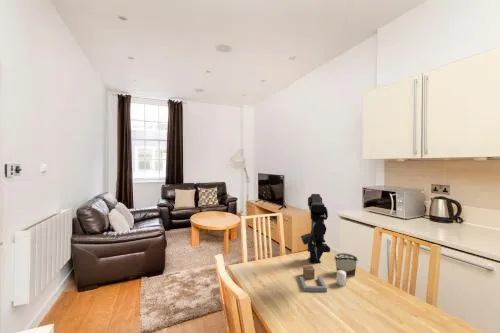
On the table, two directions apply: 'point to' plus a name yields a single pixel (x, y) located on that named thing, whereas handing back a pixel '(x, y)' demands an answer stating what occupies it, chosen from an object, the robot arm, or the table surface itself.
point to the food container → (346, 263)
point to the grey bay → (313, 288)
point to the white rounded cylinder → (341, 278)
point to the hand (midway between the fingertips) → (318, 259)
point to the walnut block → (308, 272)
